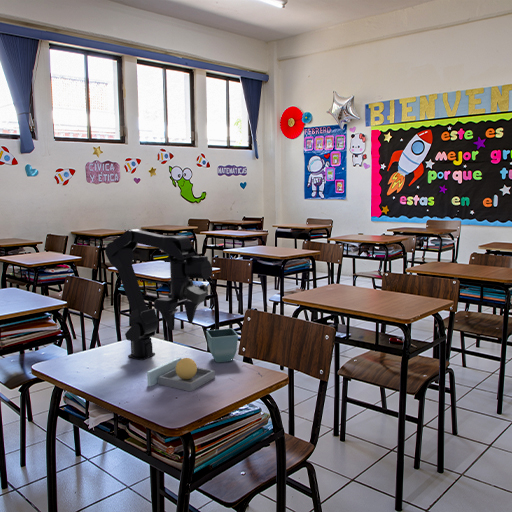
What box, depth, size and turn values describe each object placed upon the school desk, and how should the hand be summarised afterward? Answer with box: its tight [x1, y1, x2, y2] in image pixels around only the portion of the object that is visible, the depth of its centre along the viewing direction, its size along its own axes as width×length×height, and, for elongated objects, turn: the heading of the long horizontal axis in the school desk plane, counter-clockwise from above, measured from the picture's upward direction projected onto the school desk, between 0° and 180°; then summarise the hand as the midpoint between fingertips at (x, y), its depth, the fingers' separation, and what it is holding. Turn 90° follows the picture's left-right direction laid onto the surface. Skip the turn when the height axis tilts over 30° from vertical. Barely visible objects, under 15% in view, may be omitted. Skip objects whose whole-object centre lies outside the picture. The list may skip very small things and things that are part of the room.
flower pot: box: [205, 328, 239, 364], centre depth 158 cm, size 9×9×9 cm
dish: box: [157, 366, 216, 392], centre depth 140 cm, size 11×11×2 cm
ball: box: [176, 357, 198, 380], centre depth 140 cm, size 6×6×6 cm
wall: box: [146, 357, 182, 387], centre depth 143 cm, size 1×14×4 cm, turn 150°
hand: (181, 326), depth 153 cm, fingers open, 9 cm apart
